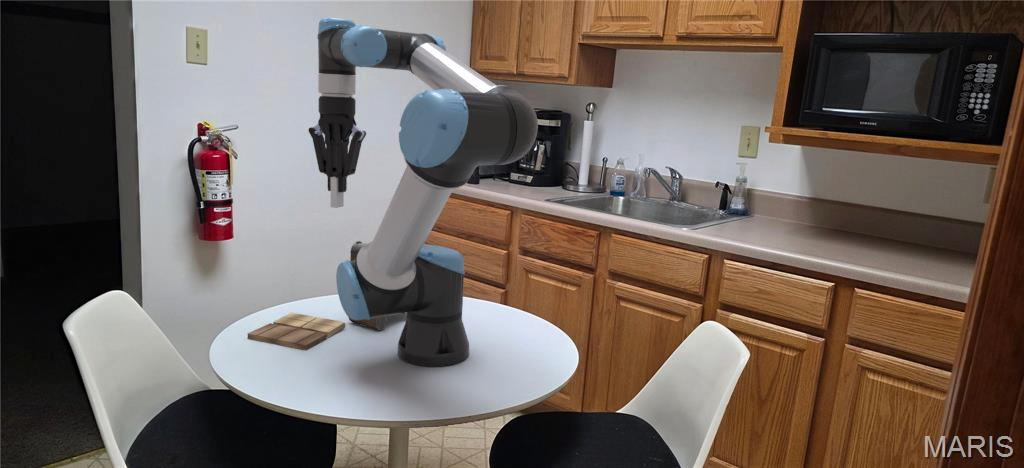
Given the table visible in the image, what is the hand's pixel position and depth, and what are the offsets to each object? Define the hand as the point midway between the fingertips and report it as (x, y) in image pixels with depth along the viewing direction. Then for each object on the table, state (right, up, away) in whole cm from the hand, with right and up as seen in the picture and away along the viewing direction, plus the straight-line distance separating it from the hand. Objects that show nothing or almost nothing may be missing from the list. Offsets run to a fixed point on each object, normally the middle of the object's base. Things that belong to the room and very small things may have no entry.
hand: (337, 206), depth 145 cm
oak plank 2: (-5, -28, +8) cm, 29 cm away
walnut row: (-11, -29, +2) cm, 31 cm away
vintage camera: (+7, -27, +18) cm, 33 cm away
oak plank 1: (-12, -27, +10) cm, 31 cm away
